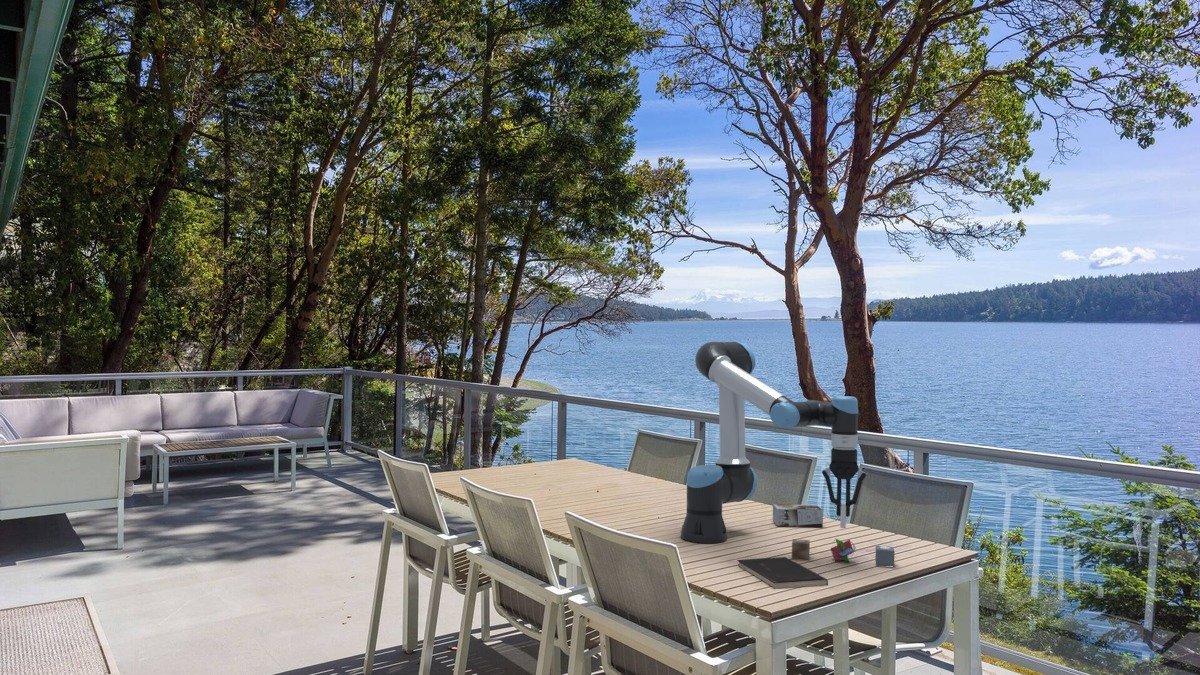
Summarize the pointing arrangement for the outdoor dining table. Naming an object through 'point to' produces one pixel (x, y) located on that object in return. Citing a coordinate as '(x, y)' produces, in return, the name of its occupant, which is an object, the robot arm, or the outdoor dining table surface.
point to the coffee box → (797, 515)
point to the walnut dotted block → (800, 549)
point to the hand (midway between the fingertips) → (842, 527)
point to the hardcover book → (782, 572)
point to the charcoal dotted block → (884, 556)
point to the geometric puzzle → (842, 550)
